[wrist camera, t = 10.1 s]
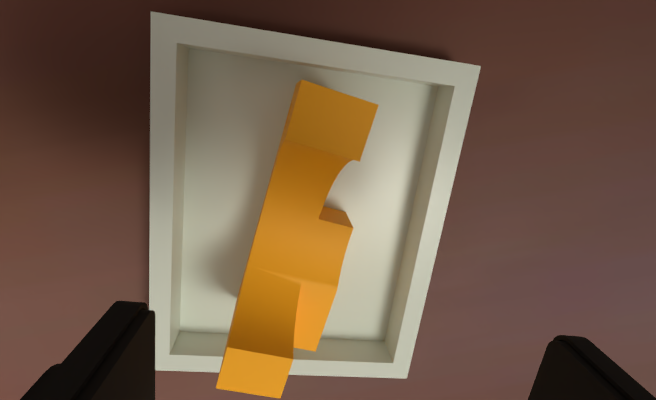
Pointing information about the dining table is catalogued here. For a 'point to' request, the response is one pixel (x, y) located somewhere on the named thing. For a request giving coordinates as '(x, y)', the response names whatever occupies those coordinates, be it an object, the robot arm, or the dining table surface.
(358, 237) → the tray
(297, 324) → the pipe clamp
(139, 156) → the dining table surface
